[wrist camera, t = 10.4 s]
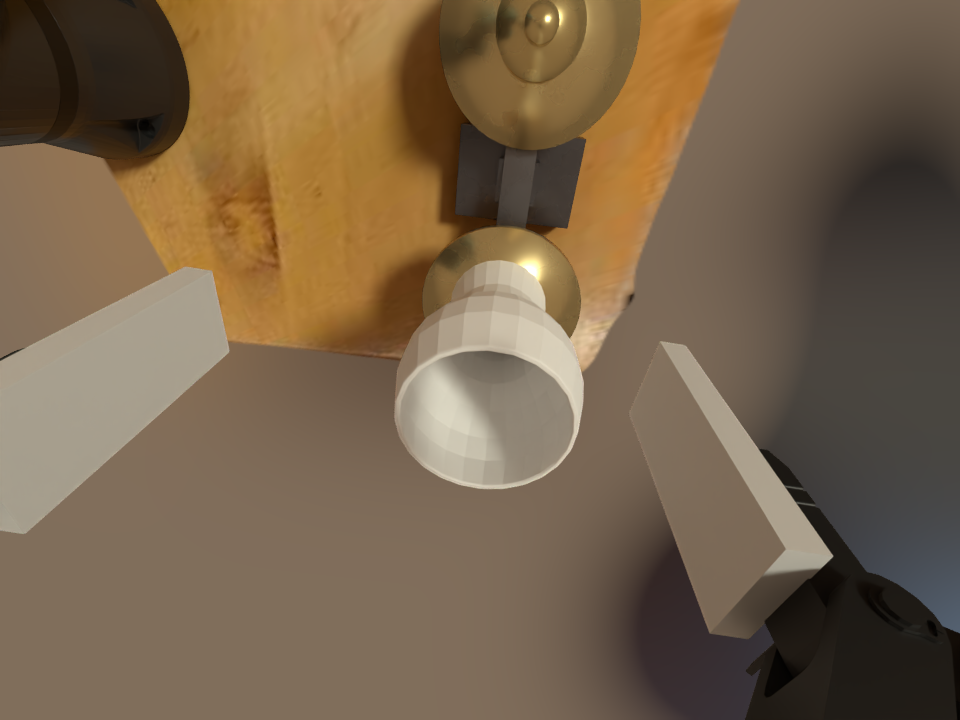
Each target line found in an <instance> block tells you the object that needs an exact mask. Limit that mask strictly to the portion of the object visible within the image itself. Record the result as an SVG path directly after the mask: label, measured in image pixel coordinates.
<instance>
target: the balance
mask: <svg viewBox="0 0 960 720" xmlns="http://www.w3.org/2000/svg"><path fill="white" fill-rule="evenodd" d="M640 21H641V4H640V0H443V2H442V7H441V13H440V24H439V45H440V54H441V61H442V65H443V70H444V74H445V77H446V80H447V83H448V86H449V89H450V91H451V93H452V95H453V97H454V99H455V101H456V103H457V104H458V106H459V108H460V109H461V111H462V112H463V114H464V115H465V116H466V117H467V119H468V120H469V121H470V122H471V123H472V124H469V123H463V124H461V136H460V150H459V164H458V179H457V193H456V208H455V214H456V215H464V216H472V217H480V218H488V219H496V220H497V224H496V225H493V226H486V227H481V228H477V229H474V230H472V231H469V232H467V233H465V234H463V235H461V236H459V237H457V238H456V239H455V240H453V241H452V242H450V243H449V244H448V245H447V246H446V247H445V248H444V249H443V250H442V251H441V252H440V254H439V255H438V256H437V257H436V259H435V261H434V262H433V264H432V266H431V267H430V269H429V272H428V274H427V276H426V279H425V283H424V287H423V294H422V308H423V313H424V318H425V319H426V317H428V316H429V315H431V314H432V313H434V312H435V311H437V310H438V309H440V308H441V307H443V306H444V305H446V304H448V303H449V302H451V299H452V292H453V290H454V287H455V285H456V283H457V281H458V280H459V279H460V278H461V276H462V275H463V274H464V273H465V272H466V271H468V270H469V269H471V268H472V267H473V266H475V265H478V264H480V263H483V262H486V261H495V260H502V261H508V262H513V263H516V264H518V265H520V266H522V267H524V268H526V269H527V270H528V271H529V272H530V273H532V274H533V275H534V276H535V277H536V279H537V280H538V282H539V283H540V285H541V286H542V289H543V292H544V295H545V308H546V310H545V312H546V313H547V314H549V315H550V316H551V317H552V318H553V319H554V320H555V321H556V322H557V323H558V324H559V325H560V326H561V327H562V328H563V330H564V331H565V333H566V334H567V336H568V337H569V339H570V337H571V336H572V334H573V332H574V330H575V328H576V325H577V322H578V319H579V314H580V308H581V296H580V288H579V284H578V281H577V277H576V275H575V272H574V270H573V268H572V266H571V264H570V262H569V261H568V259H567V257H566V256H565V255H564V254H563V253H562V251H561V250H560V249H559V248H558V247H557V246H556V245H554V244H553V243H552V242H551V241H549V240H548V239H546V238H545V237H544V236H542V235H540V234H538V233H536V232H534V231H531V230H528V229H526V223H527V224H535V225H543V226H551V227H559V228H567V227H568V223H569V218H570V213H571V209H572V204H573V199H574V194H575V190H576V185H577V180H578V176H579V171H580V166H581V161H582V157H583V152H584V147H585V143H586V139H584V138H582V137H578V136H579V135H581V134H582V133H584V132H585V131H586V130H588V129H589V128H590V127H591V126H593V125H594V124H595V123H596V122H597V121H598V120H599V119H600V118H601V117H602V116H603V115H604V113H605V112H606V111H607V110H608V109H609V108H610V106H611V105H612V103H613V102H614V100H615V99H616V97H617V96H618V94H619V93H620V91H621V89H622V87H623V85H624V83H625V81H626V79H627V77H628V74H629V72H630V69H631V67H632V64H633V60H634V57H635V54H636V50H637V45H638V39H639V33H640Z"/></svg>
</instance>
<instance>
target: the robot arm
mask: <svg viewBox="0 0 960 720" xmlns="http://www.w3.org/2000/svg"><path fill="white" fill-rule="evenodd" d="M188 109H189V81H188V75H187V69H186V65H185V61H184V58H183V54H182V51H181V48H180V46H179V43H178V41H177V38H176V36H175V34H174V32H173V29H172V27H171V25H170V23H169V22H168V20H167V18H166V16H165V14H164V13H163V11H162V10H161V8H160V6H159V5H158V3H157V2H156V0H0V147H2V146H12V145H21V144H32V143H46V144H49V145H53V146H57V147H62V148H65V149H70V150H74V151H77V152H81V153H85V154H89V155H93V156H97V157H101V158H107V159H134V158H141V157H148V156H152V155H155V154H158V153H160V152H162V151H164V150H166V149H167V148H168V147H170V146H171V145H172V144H173V143H174V142H175V141H176V139H177V138H178V137H179V135H180V133H181V132H182V130H183V127H184V125H185V122H186V119H187V115H188ZM228 353H229V347H228V342H227V337H226V333H225V328H224V324H223V319H222V315H221V310H220V306H219V301H218V296H217V292H216V287H215V283H214V278H213V274H212V271H209V270H203V269H197V268H190V267H184V268H182V269H180V270H178V271H176V272H174V273H172V274H170V275H168V276H166V277H164V278H162V279H160V280H158V281H156V282H154V283H152V284H151V285H148V286H146V287H144V288H142V289H141V290H138V291H137V292H135V293H133V294H131V295H129V296H127V297H125V298H123V299H121V300H119V301H117V302H115V303H113V304H111V305H109V306H107V307H105V308H103V309H101V310H99V311H97V312H95V313H93V314H92V315H89V316H87V317H86V318H84V319H82V320H80V321H78V322H76V323H74V324H72V325H70V326H68V327H66V328H64V329H62V330H60V331H58V332H56V333H54V334H52V335H50V336H48V337H46V338H44V339H42V340H40V341H38V342H37V343H34V344H33V345H31V346H29V347H27V348H23V349H20V350H17V351H14V352H12V353H10V354H8V355H6V356H4V357H2V358H0V530H1V531H8V532H15V533H22V534H25V533H26V532H28V531H29V530H30V529H31V528H32V527H33V526H34V525H35V524H37V523H38V522H39V521H40V520H41V519H42V518H43V517H44V516H46V515H47V514H48V513H49V512H50V511H51V510H52V509H54V508H55V507H56V506H57V505H58V504H59V503H60V502H61V501H63V499H65V498H66V497H67V496H68V495H69V494H70V493H72V492H73V491H74V490H75V489H76V488H77V487H78V486H79V485H80V484H81V483H83V482H84V481H85V480H86V479H87V478H88V477H89V476H91V475H92V474H93V473H94V472H95V471H96V470H97V469H99V468H100V467H101V466H102V465H103V464H104V463H105V462H106V461H107V460H109V459H110V458H111V457H112V456H113V455H114V454H115V453H116V452H118V451H119V450H120V449H121V448H122V447H123V446H124V445H125V444H127V443H128V442H129V441H130V440H131V439H132V438H133V437H134V436H136V435H137V434H138V433H139V432H140V431H141V430H142V429H143V428H145V427H146V426H147V425H148V424H149V423H150V422H151V421H152V420H153V419H155V418H156V417H157V416H158V415H159V414H160V413H161V412H163V411H164V410H165V409H166V408H167V407H168V406H169V405H170V404H172V403H173V402H174V401H175V400H176V399H177V398H178V397H179V396H181V395H182V394H183V393H184V392H185V391H186V390H187V389H188V388H190V387H191V386H192V385H193V384H194V383H195V382H196V381H197V380H198V379H200V378H201V377H202V376H203V375H204V374H205V373H206V372H208V371H209V370H210V369H211V368H212V367H213V366H214V365H215V364H217V363H218V362H219V361H220V360H221V359H222V358H223V357H224V356H225V355H227V354H228ZM629 415H630V418H631V421H632V423H633V426H634V429H635V432H636V434H637V437H638V440H639V443H640V445H641V448H642V451H643V453H644V456H645V459H646V462H647V464H648V467H649V470H650V472H651V475H652V478H653V480H654V483H655V486H656V489H657V491H658V494H659V497H660V499H661V502H662V505H663V508H664V511H665V513H666V516H667V519H668V521H669V524H670V527H671V530H672V532H673V535H674V538H675V540H676V543H677V546H678V549H679V551H680V554H681V557H682V559H683V562H684V565H685V567H686V570H687V573H688V576H689V578H690V581H691V584H692V587H693V589H694V592H695V595H696V597H697V600H698V603H699V605H700V608H701V611H702V614H703V616H704V619H705V622H706V625H707V627H708V630H709V633H710V634H718V635H724V636H732V637H738V638H745V639H749V638H750V637H751V636H752V635H753V634H754V633H755V632H756V631H757V630H758V629H759V628H760V627H761V626H762V625H763V624H766V626H767V628H768V630H769V632H770V634H771V636H772V638H773V640H774V644H772V645H771V646H770V647H769V648H768V649H767V650H766V651H765V652H764V653H762V654H761V655H760V656H759V657H758V658H757V659H756V660H755V661H754V662H753V663H752V664H751V665H750V666H749V667H748V669H747V670H746V672H748V673H749V674H750V675H751V676H752V675H753V674H755V673H756V672H757V671H758V670H759V669H761V670H760V673H759V676H758V679H757V683H756V686H755V689H754V692H753V696H752V699H751V702H750V705H749V709H748V712H747V715H746V718H745V720H960V633H958V632H955V631H953V630H950V629H948V628H945V627H943V626H942V625H941V624H940V622H939V621H938V619H937V618H936V617H935V615H934V614H933V613H932V612H931V611H930V610H929V609H928V608H927V607H926V606H925V605H923V603H922V602H921V601H920V600H918V599H917V598H916V597H915V596H913V595H912V594H911V593H909V592H908V591H906V590H905V589H904V588H902V587H901V586H899V585H898V584H896V583H894V582H892V581H890V580H888V579H886V578H884V577H882V576H880V575H876V574H873V573H868V572H866V570H865V569H864V568H863V567H862V565H861V564H860V563H859V561H858V560H857V558H856V557H855V556H854V554H853V553H852V552H851V550H850V549H849V548H848V546H847V545H846V544H845V542H844V541H843V540H842V538H841V537H840V536H839V534H838V533H837V532H836V530H835V529H834V528H833V526H832V525H831V524H830V522H829V521H828V520H827V518H826V517H825V516H824V514H823V513H822V512H821V510H820V509H819V508H816V507H815V502H814V501H813V500H812V498H811V497H810V496H809V494H808V493H807V492H806V491H803V487H802V485H801V483H800V482H799V481H798V479H797V478H796V477H795V475H794V474H793V473H792V472H791V470H790V469H789V468H788V467H787V466H786V465H785V464H784V463H782V462H781V461H780V460H779V459H778V458H776V457H775V456H774V455H773V454H772V453H770V451H768V450H764V449H758V448H757V447H756V445H755V444H754V442H753V441H752V439H751V438H750V437H749V435H748V434H747V432H746V431H745V430H744V428H743V427H742V425H741V424H740V423H739V421H738V420H737V418H736V417H735V415H734V414H733V412H732V411H731V410H730V408H729V407H728V405H727V404H726V402H725V401H724V400H723V398H722V397H721V395H720V394H719V392H718V391H717V390H716V388H715V387H714V385H713V384H712V383H711V381H710V380H709V378H708V377H707V376H706V374H705V372H704V371H703V370H702V369H701V367H700V365H699V364H698V363H697V361H696V360H695V358H694V357H693V355H692V354H691V353H690V351H689V350H688V348H687V347H686V346H685V345H680V344H673V343H667V342H661V341H660V342H659V345H658V347H657V349H656V351H655V354H654V356H653V358H652V361H651V363H650V365H649V368H648V370H647V372H646V375H645V377H644V379H643V381H642V384H641V386H640V388H639V391H638V393H637V395H636V398H635V400H634V402H633V405H632V407H631V409H630V411H629Z"/></svg>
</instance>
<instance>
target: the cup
mask: <svg viewBox="0 0 960 720" xmlns="http://www.w3.org/2000/svg"><path fill="white" fill-rule="evenodd" d="M545 310H546V308H545V295H544V292H543V289H542V286H541V285H540V283H539V282H538V280H537V279H536V277H535V276H534V275H533V274H532V273H530V272H529V271H528V270H527V269H526V268H524V267H522V266H520V265H518V264H516V263H513V262H508V261H502V260H495V261H486V262H483V263H480V264H478V265H475V266H473V267H472V268H471V269H469V270H468V271H466V272H465V273H464V274H463V275H462V276H461V278H460V279H459V280H458V281H457V283H456V285H455V287H454V290H453V292H452V299H451V302H449V303H448V304H446V305H444V306H443V307H441V308H440V309H438V310H437V311H435V312H434V313H432V314H431V315H429V316H428V317H426V319H425V320H424V321H423V322H422V323H421V325H420V326H419V327H418V328H417V329H416V331H415V332H414V333H413V334H412V337H411V339H410V341H409V343H408V345H407V347H406V349H405V351H404V354H403V356H402V359H401V361H400V363H399V366H398V369H397V374H396V375H397V376H396V391H395V410H394V420H395V423H396V427H397V430H398V434H399V437H400V439H401V440H402V442H403V443H404V445H405V447H406V449H407V450H408V452H409V453H410V454H411V455H412V456H413V457H414V458H415V459H416V460H417V461H418V462H419V463H420V464H421V465H422V466H423V467H424V468H426V469H428V470H429V471H431V472H432V473H434V474H436V475H437V476H439V477H441V478H443V479H445V480H448V481H451V482H454V483H456V484H459V485H462V486H469V487H474V488H480V489H505V488H510V487H515V486H520V485H525V484H527V483H529V482H532V481H534V480H537V479H539V478H541V477H543V476H545V475H546V474H547V473H549V472H550V471H552V470H553V469H554V468H556V467H557V466H559V465H560V463H561V462H562V461H563V459H564V458H565V457H566V456H567V454H568V453H569V452H570V451H571V449H572V447H573V444H574V441H575V439H576V436H577V434H578V430H579V424H580V418H581V413H582V407H583V387H584V383H583V378H582V374H581V370H580V366H579V362H578V359H577V355H576V352H575V349H574V345H573V343H572V342H571V340H570V339H569V337H568V336H567V334H566V333H565V331H564V330H563V328H562V327H561V326H560V325H559V324H558V323H557V322H556V321H555V320H554V319H553V318H552V317H551V316H550V315H549V314H547V313H546V312H545Z"/></svg>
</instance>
